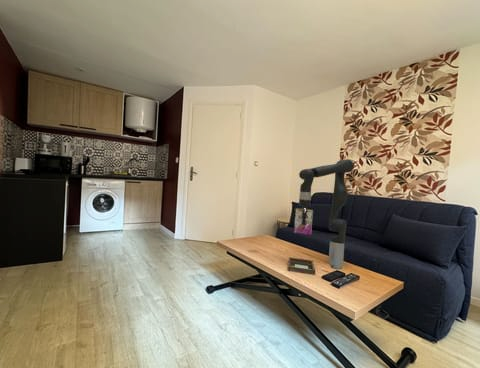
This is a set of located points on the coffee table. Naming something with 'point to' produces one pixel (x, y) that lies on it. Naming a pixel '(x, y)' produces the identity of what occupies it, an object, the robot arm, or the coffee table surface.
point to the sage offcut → (301, 266)
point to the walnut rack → (301, 262)
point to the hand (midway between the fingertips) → (303, 223)
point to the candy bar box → (298, 222)
